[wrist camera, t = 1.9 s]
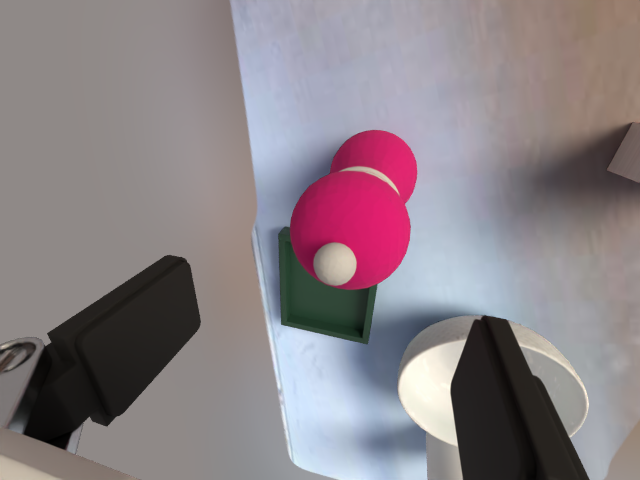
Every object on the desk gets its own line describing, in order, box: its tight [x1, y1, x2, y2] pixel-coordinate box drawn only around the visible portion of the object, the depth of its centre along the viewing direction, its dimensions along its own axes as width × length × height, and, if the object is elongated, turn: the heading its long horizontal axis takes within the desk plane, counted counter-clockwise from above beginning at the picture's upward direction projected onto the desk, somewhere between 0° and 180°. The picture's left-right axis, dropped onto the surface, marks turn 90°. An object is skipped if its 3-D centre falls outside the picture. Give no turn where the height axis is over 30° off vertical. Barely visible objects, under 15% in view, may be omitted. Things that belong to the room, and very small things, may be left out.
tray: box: [278, 227, 377, 344], centre depth 35 cm, size 14×12×2 cm
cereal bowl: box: [397, 315, 588, 447], centre depth 32 cm, size 17×17×7 cm
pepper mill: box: [290, 130, 417, 290], centre depth 20 cm, size 7×7×20 cm
